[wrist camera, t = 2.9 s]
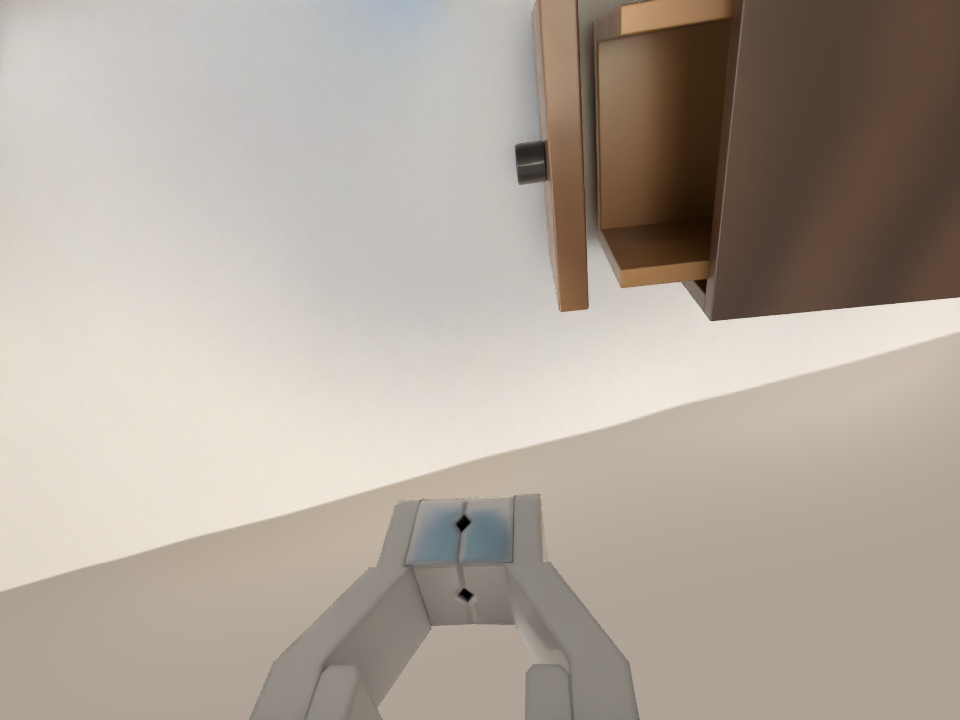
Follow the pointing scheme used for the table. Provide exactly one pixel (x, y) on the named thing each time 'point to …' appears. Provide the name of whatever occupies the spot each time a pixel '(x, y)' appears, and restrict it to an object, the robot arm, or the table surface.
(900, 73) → the cabinet
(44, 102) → the table surface
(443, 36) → the table surface
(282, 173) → the table surface
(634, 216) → the wooden drawer
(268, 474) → the table surface
